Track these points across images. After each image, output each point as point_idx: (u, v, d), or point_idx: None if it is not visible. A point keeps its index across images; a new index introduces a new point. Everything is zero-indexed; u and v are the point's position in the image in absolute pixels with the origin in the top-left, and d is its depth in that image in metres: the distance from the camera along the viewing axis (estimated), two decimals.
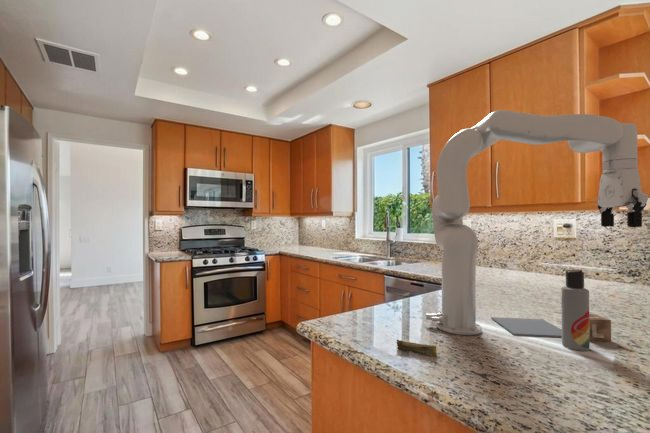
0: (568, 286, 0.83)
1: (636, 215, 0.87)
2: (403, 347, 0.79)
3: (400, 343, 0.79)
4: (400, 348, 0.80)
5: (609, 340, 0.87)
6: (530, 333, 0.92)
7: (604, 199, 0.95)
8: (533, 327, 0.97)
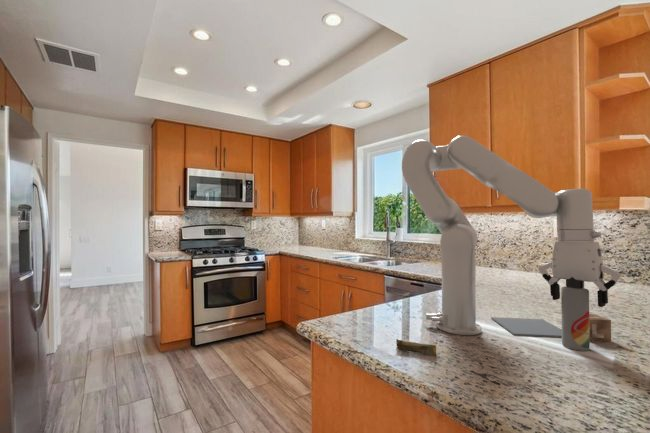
0: (568, 286, 0.83)
1: None
2: (403, 347, 0.79)
3: (400, 343, 0.79)
4: (400, 347, 0.80)
5: (609, 340, 0.87)
6: (530, 333, 0.92)
7: None
8: (533, 327, 0.97)
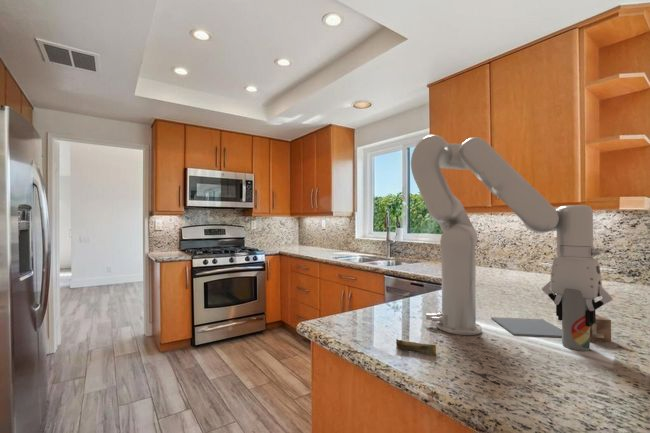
0: None
1: None
2: (403, 347, 0.79)
3: (400, 343, 0.80)
4: (400, 347, 0.80)
5: (609, 340, 0.87)
6: (530, 333, 0.92)
7: None
8: (533, 327, 0.97)
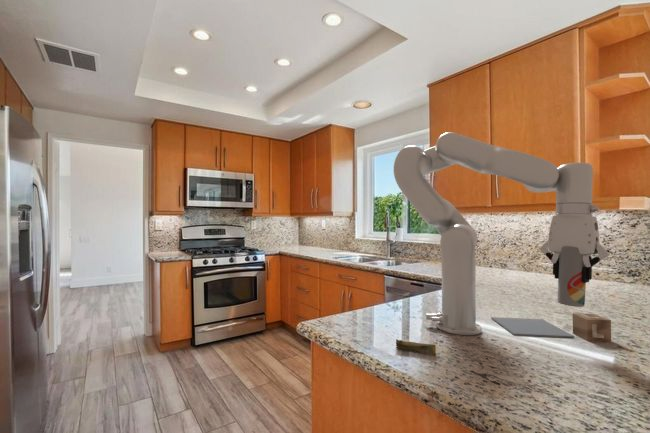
0: None
1: None
2: (402, 347, 0.79)
3: (399, 343, 0.80)
4: (399, 347, 0.80)
5: (609, 340, 0.87)
6: (530, 333, 0.92)
7: None
8: (533, 327, 0.97)
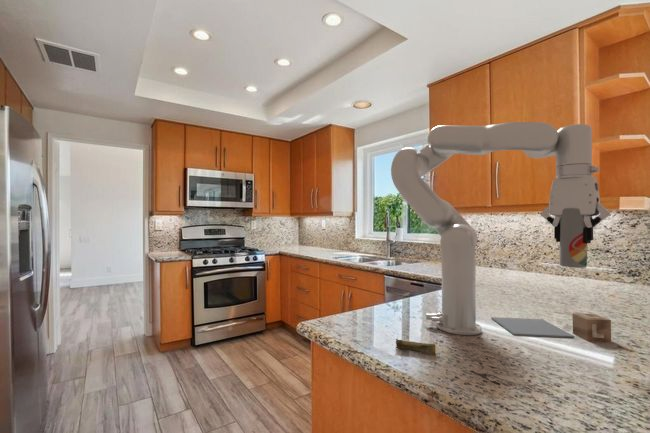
0: None
1: None
2: (402, 346, 0.79)
3: (399, 342, 0.80)
4: (399, 347, 0.80)
5: (609, 340, 0.87)
6: (530, 333, 0.92)
7: None
8: (533, 327, 0.97)
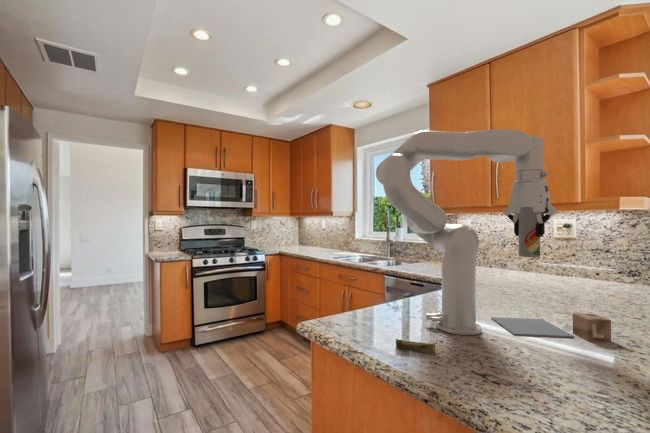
0: None
1: None
2: (402, 346, 0.80)
3: (399, 342, 0.80)
4: (399, 347, 0.80)
5: (609, 340, 0.87)
6: (530, 333, 0.92)
7: None
8: (533, 327, 0.97)
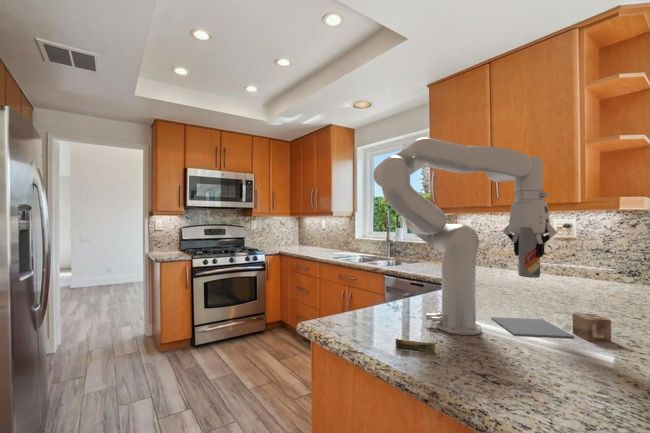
0: None
1: None
2: (402, 346, 0.80)
3: (399, 342, 0.80)
4: (399, 346, 0.80)
5: (609, 340, 0.87)
6: (530, 333, 0.92)
7: None
8: (533, 327, 0.97)
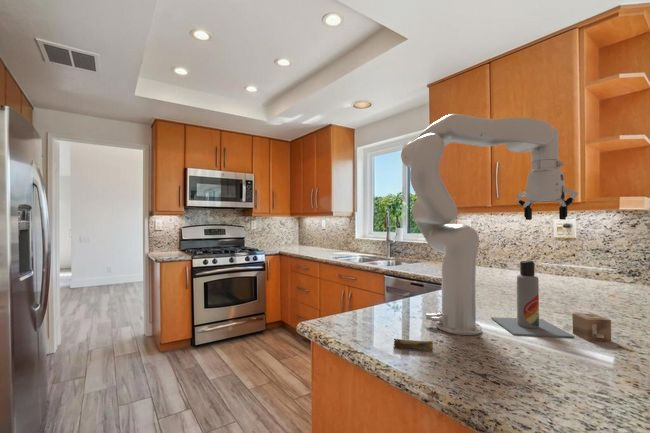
0: (522, 274, 0.99)
1: None
2: (401, 345, 0.80)
3: (398, 342, 0.80)
4: (397, 346, 0.81)
5: (609, 340, 0.87)
6: (530, 333, 0.92)
7: None
8: None
